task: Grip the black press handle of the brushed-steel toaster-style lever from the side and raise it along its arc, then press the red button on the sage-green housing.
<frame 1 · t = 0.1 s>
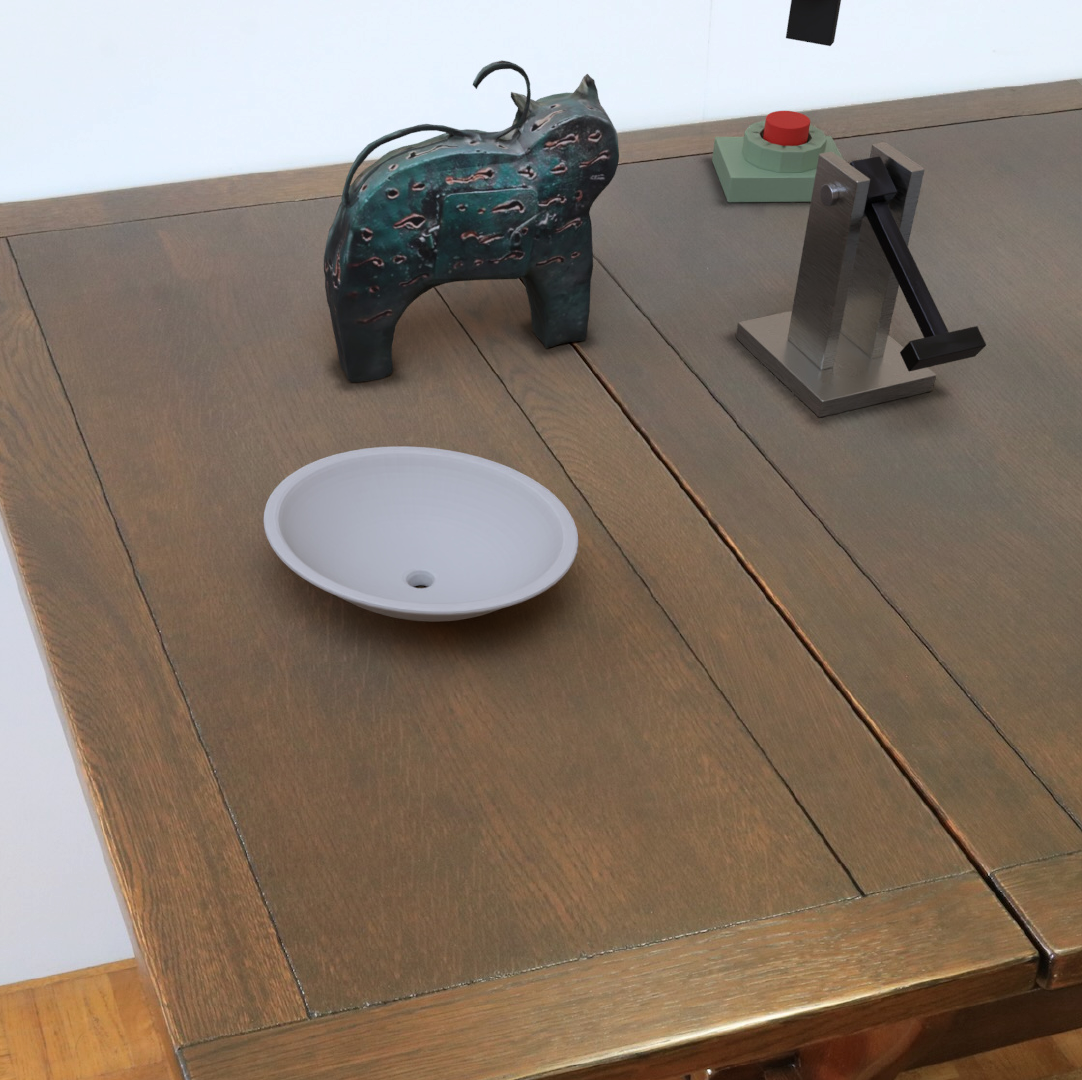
hand: (841, 5, 94), 23 cm above the table, tool pointing down, fingers open, 13 cm apart
bracket: (831, 363, 106), on the table
lever: (901, 262, 95), point 10 cm above the table, hinge at -30.0°
button box: (778, 181, 127), on the table
button: (786, 129, 125), point 4 cm above the table, slide at 0.1 cm
ceramic cat: (471, 355, 106), on the table
white oval sink basin: (420, 595, 87), on the table
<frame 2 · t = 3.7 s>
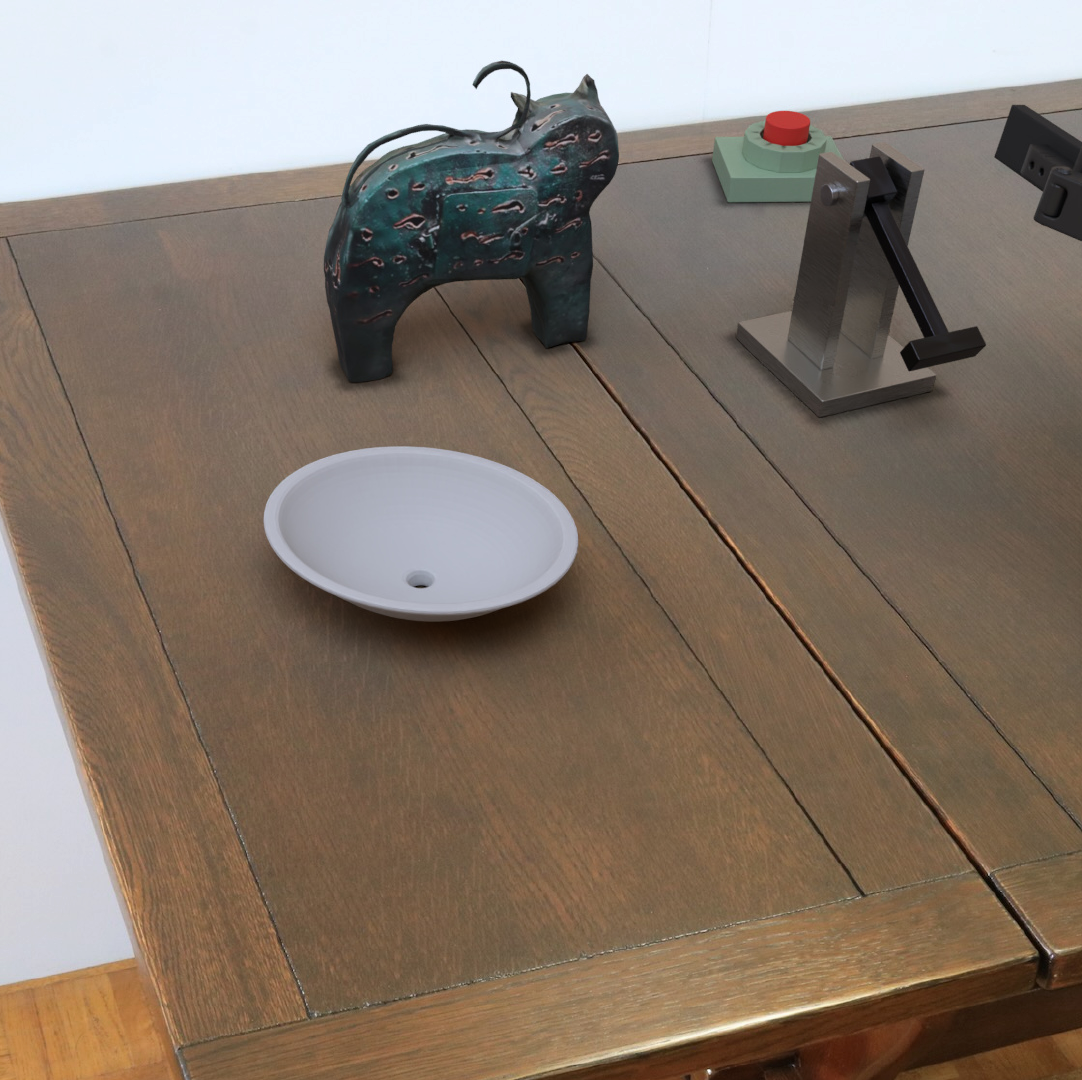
nothing on the table moved.
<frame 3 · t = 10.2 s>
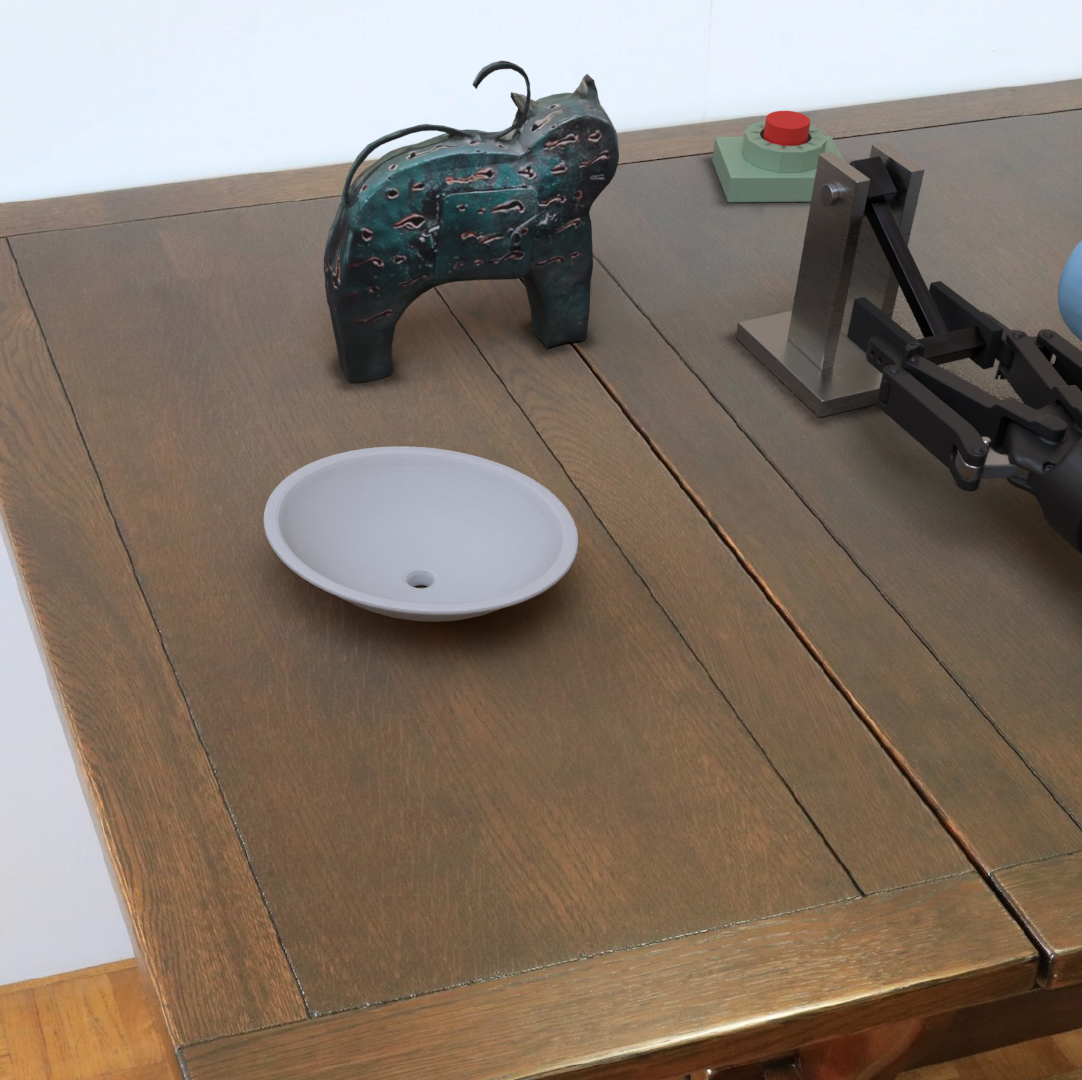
hand: (894, 309, 97), 7 cm above the table, tool horizontal, fingers closed on lever, 5 cm apart
lever: (901, 262, 95), point 10 cm above the table, hinge at -30.0°, touching gripper
everything else where it was.
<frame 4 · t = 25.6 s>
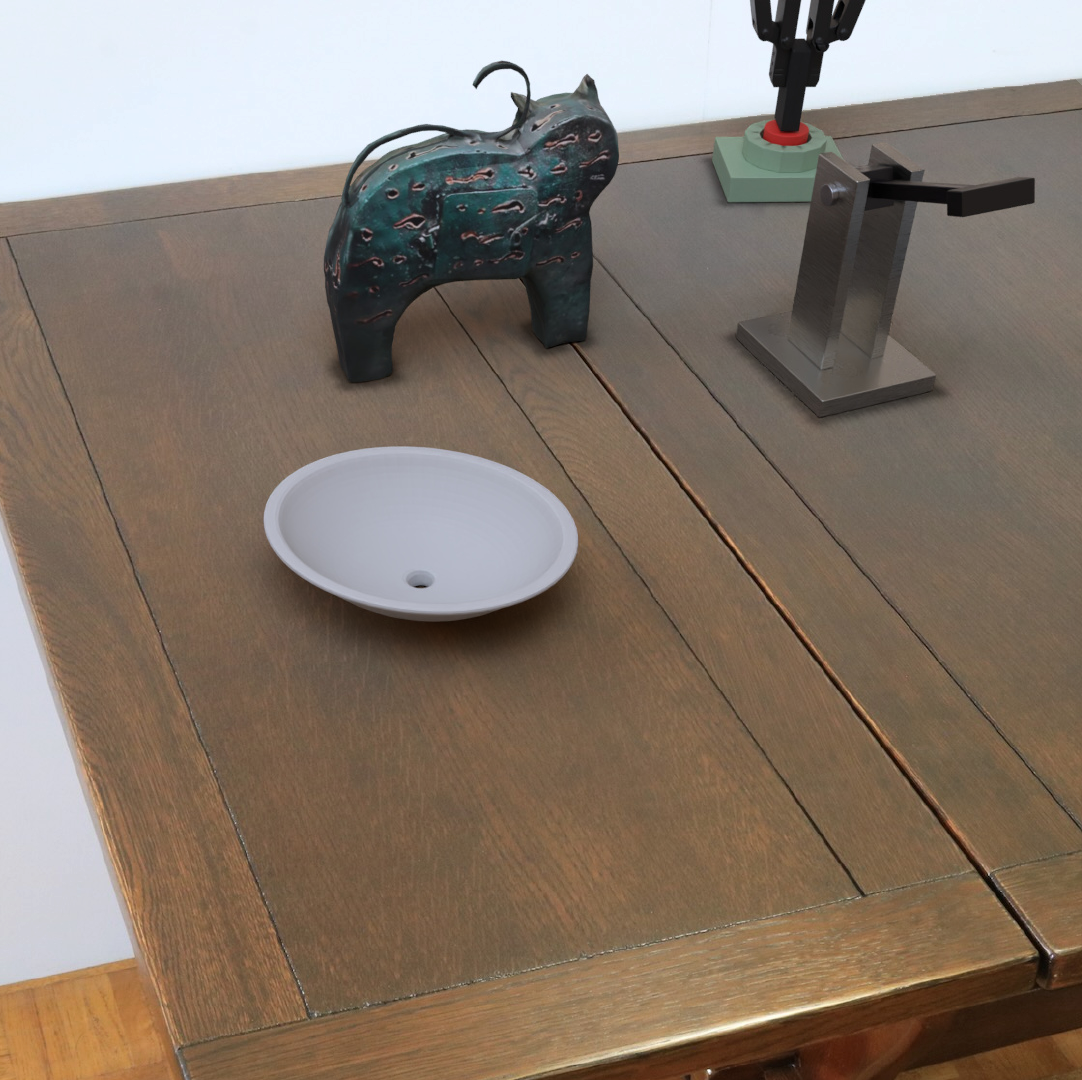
hand: (786, 124, 124), 5 cm above the table, tool pointing down, fingers closed
lever: (921, 191, 92), point 15 cm above the table, hinge at 21.3°
button: (785, 137, 125), point 4 cm above the table, slide at -0.6 cm, touching gripper
everything else where it was.
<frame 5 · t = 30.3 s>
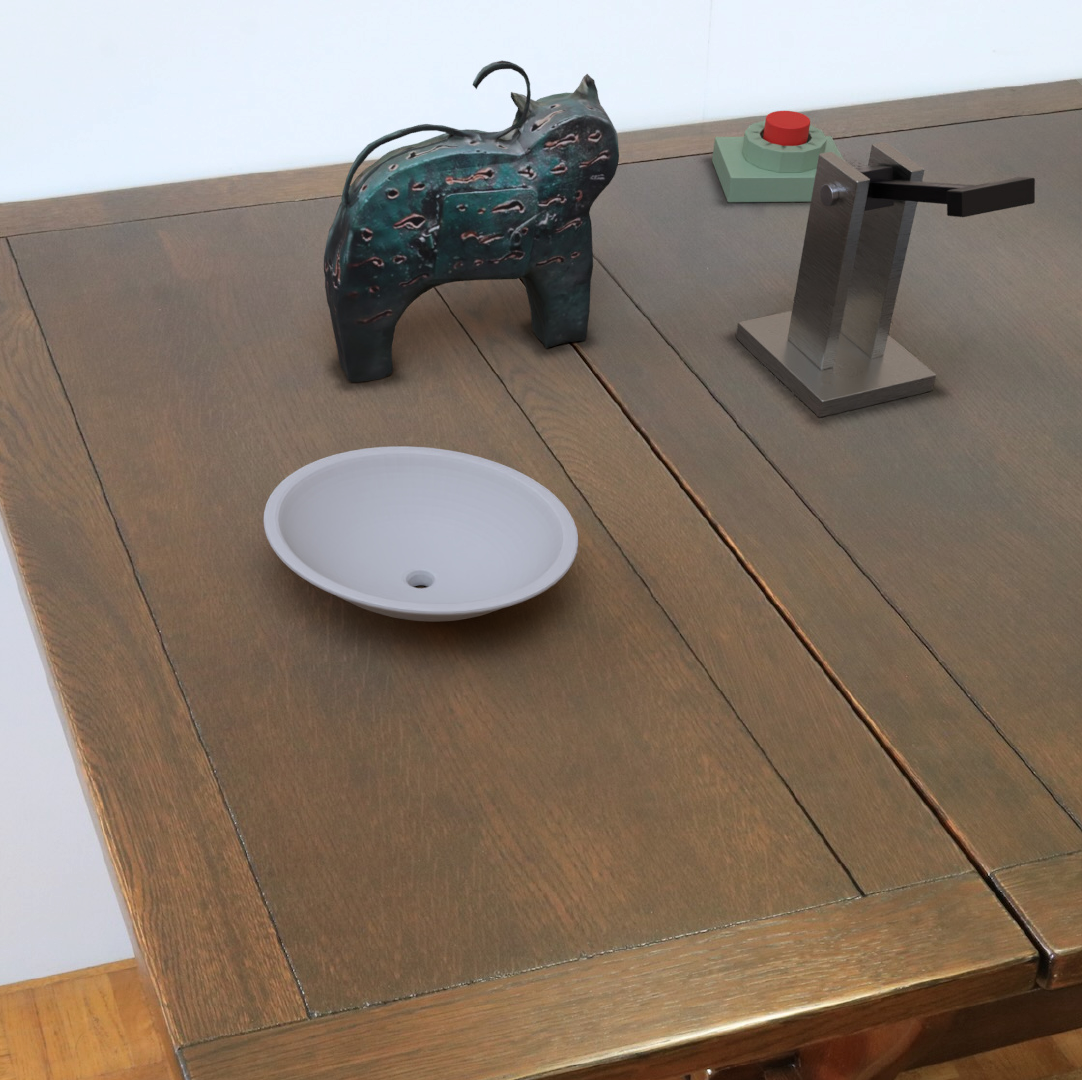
button: (786, 129, 125), point 4 cm above the table, slide at 0.1 cm
everything else where it was.
at the end: lever at +21° (first picture: -30°); button pushed in 1.0 cm at the most during the clip, back to where it started at the end; button slide at 0.1 cm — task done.
